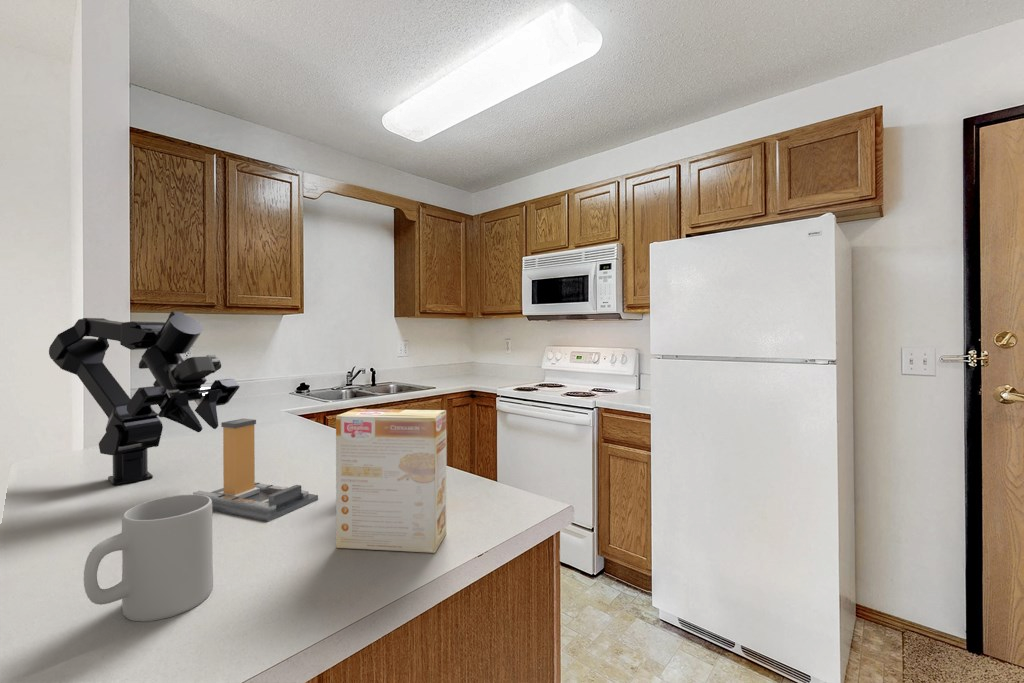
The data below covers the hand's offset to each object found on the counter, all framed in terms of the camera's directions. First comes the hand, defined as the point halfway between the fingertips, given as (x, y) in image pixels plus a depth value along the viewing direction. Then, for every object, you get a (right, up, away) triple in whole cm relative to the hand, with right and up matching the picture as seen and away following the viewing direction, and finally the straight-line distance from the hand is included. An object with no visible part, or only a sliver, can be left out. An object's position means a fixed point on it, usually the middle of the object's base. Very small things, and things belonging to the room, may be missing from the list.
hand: (208, 429), depth 89 cm
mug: (+18, -14, -37) cm, 43 cm away
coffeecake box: (+40, -13, -19) cm, 47 cm away
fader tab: (+7, -13, -3) cm, 15 cm away
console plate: (+11, -13, -4) cm, 17 cm away
